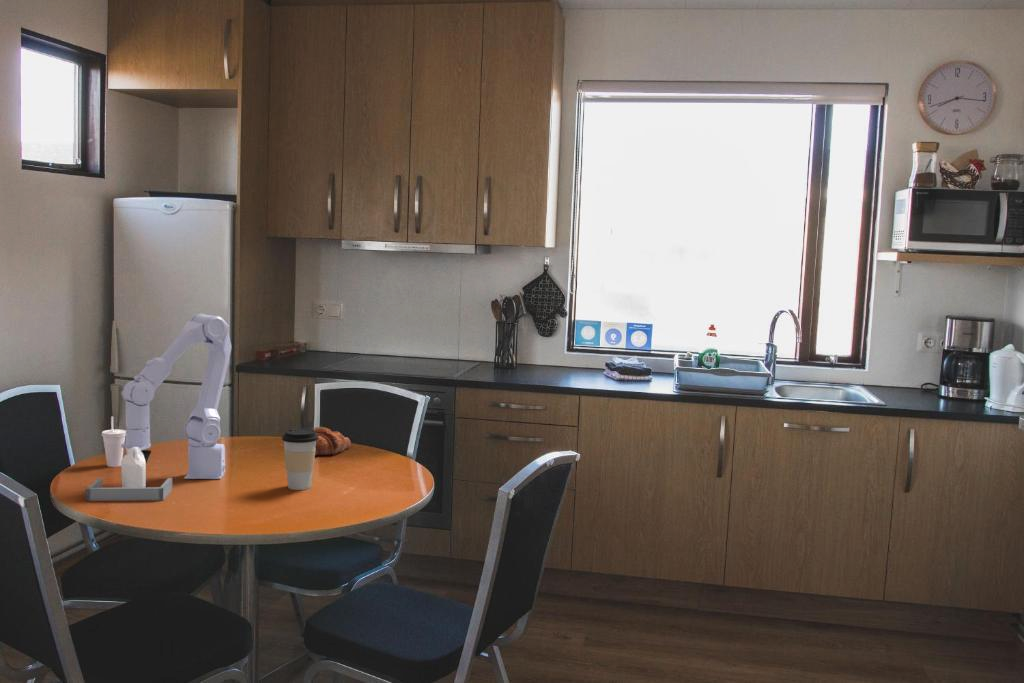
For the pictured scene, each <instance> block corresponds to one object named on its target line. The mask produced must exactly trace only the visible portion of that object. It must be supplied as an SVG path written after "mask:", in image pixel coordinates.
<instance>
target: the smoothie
mask: <svg viewBox="0 0 1024 683" xmlns="http://www.w3.org/2000/svg"><path fill="white" fill-rule="evenodd" d="M110 427H111V429H107V430H103V431H102V432H101V437H102V439H103V447H104V452H105V460H106V465H107V467H110V468H117V467H121V460H122V459H123V457H124V450H125V448H122V447H121V445H122V444H124V443H125V442H126V429H118V428H117V429H116V428H115V429H114V416H110Z"/></svg>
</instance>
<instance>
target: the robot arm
mask: <svg viewBox="0 0 1024 683" xmlns="http://www.w3.org/2000/svg"><path fill="white" fill-rule="evenodd" d="M229 332H230V326H229V324H228V323H227V322H226V321H225V320H224V318H223V317H221V316H219V315H210V314H206V313H202V312H200V313H196V314H194V315H193V316H192V317H191V319H190V320H189V321H187V322H186V323H185V324H184V327H183V328H182V330H181V331H180V332H179V334H178V335H177V336H176V337H175V339H174V340H173V341H172V342H171V343H170V345H169V346H168V347H167V349H166V350H165V351H164V352H163V353H162V355H161V356H159V357H153V358H152V359H148V360H147V361H146V362H145V365H146V366H145V367H144V368H143V369H142V370H141V371H140V372H139V373H138V374H135V376H133V379H134V380H131V381H128V382H127V383H126V384H125V385H124V387H123V388H122V389H123V390H122V391H120V395H121V397H122V398H123V400H124V401H125V431H126V435H125V442H124V444H122V445H121V447H122V448H124V449H125V451H126V452H125V454H124V456H125V455H126V456H127V455H128V450H129V449H130V448H132V447H139V449H140V451H141V452H142V453H143V455H144V458H145V461H146V464H147V463H148V460H149V457H150V455H151V453H152V450H150V448H151V447H152V444H151V420H150V419H151V417H150V416H151V413H150V412H151V408H150V404H151V403H150V402H151V401H153V399H154V396H155V392H156V390H157V389H159V387H160V386H161V385H162V383H163V382H164V381H165V380H166V379H167V378H168V377H169V375H170V374H171V373H172V365H173V364H175V362H176V361H177V360H178V359H179V358H180V357H181V356H182V355H184V353H185V352H186V351H188V349H189V348H190V347H191V346H193V345H194V344H199V343H204V345H205V346H206V347H207V348H208V350H209V353H208V357H207V361H206V366H205V370H204V374H203V379H202V383H201V388H200V391H199V396H198V400H197V404H196V406H195V408H194V409H192V411H190V414H189V417H188V420H187V421H186V422H185V424H184V426H183V433H184V435H185V437H187V438H188V439H187V440H188V442H187V451H188V453H187V454H188V455H187V456H188V458H187V459H188V463H187V464H188V465H187V466H188V467H187V468H188V470H187V472H188V473H186V475H185V476H184V479H185V480H198V479H199V480H221V479H222V477H223V476H224V475H225V473H226V447H225V444H224V443H217V442H218V441H219V440H220V437H221V425H220V424H221V417H220V414H219V412H218V408H219V404H220V401H221V396H222V391H223V387H224V382H225V380H226V379H225V377H226V374H227V370H228V366H229V361H230V357H231V352H232V343H231V339H230V334H229ZM133 457H134V458H135V451H133Z"/></svg>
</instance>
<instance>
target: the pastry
mask: <svg viewBox="0 0 1024 683" xmlns="http://www.w3.org/2000/svg"><path fill="white" fill-rule="evenodd" d="M312 430H315V431H316V434H317V435H318V438H319V439H318V440H317V441H316V445H315V448H316V450H315V457H326V456H335V455H337V454H341V453H342V452H344V451H345V450H346V451H347V450H348V449H349V448H350V447H351V445H352V442H351V440H350V438H349V437H347V436H346V437H345V436H344V435H343V434H342V433H341V432H339V431H337V430H336V431H335V430H334V431H332V430H331V429H330V428H327V427H324V426H316V427H314V428H312Z"/></svg>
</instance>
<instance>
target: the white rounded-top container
mask: <svg viewBox="0 0 1024 683" xmlns="http://www.w3.org/2000/svg"><path fill="white" fill-rule="evenodd" d="M133 451H135V458H134V457H133ZM146 466H147V463H146V461H145V458H144V455H143V453H142V452H141V451H140V449H139V447H132V448H130V449H129V450H128V455H127V456H126V455H125V454H124V455H123V458H122V460H121V466H120V467H121V488H130V487H146V486H147V485H146V483H147V477H146V476H147V474H146V473H147V472H146V470H147V469H146Z"/></svg>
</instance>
